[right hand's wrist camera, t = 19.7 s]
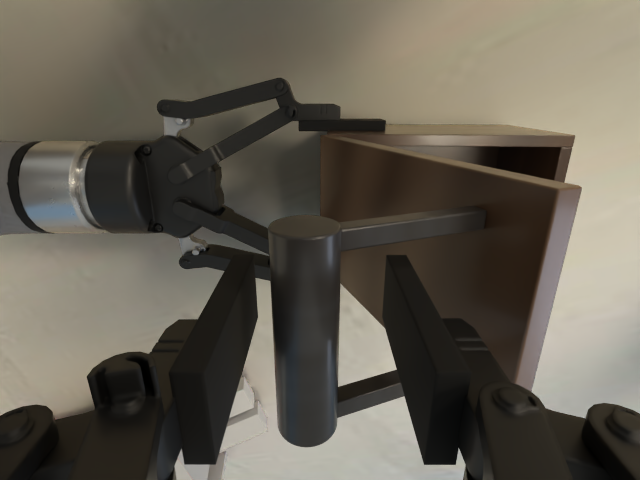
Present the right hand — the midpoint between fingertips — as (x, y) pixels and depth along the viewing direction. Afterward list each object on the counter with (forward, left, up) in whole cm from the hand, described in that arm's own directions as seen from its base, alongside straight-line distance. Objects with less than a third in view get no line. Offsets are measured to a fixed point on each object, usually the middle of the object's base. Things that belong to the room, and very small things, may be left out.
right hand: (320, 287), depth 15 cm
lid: (-2, +4, -5) cm, 7 cm away
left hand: (-2, +4, -18) cm, 19 cm away
